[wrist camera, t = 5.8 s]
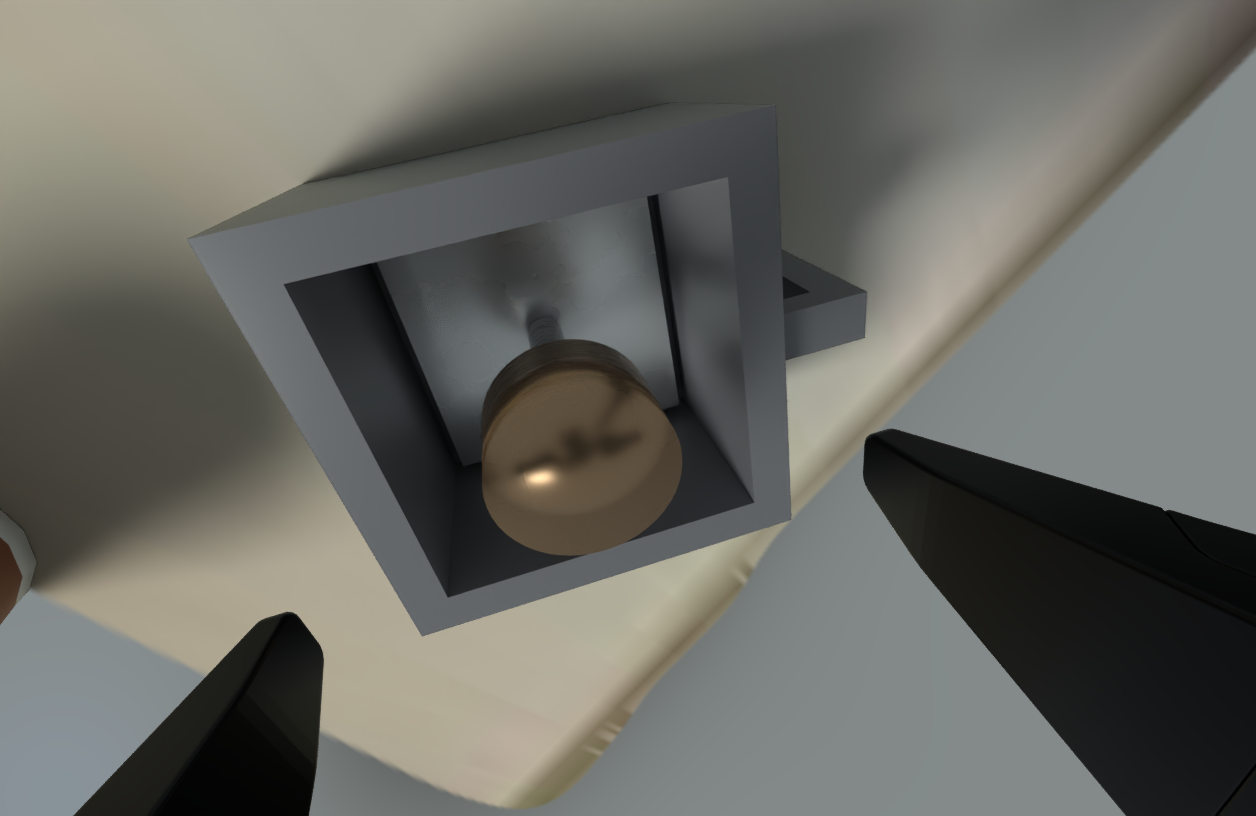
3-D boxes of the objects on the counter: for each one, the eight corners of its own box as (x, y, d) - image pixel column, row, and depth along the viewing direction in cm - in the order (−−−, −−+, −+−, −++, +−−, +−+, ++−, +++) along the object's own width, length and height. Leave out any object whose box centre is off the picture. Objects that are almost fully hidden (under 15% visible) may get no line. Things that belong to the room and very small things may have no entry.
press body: (753, 83, 16) (903, 76, 10) (769, 388, 21) (875, 493, 15) (299, 184, 14) (187, 239, 9) (438, 483, 19) (421, 636, 14)
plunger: (637, 171, 15) (762, 228, 8) (674, 396, 19) (780, 559, 12) (371, 234, 14) (277, 351, 8) (463, 456, 18) (454, 663, 11)
